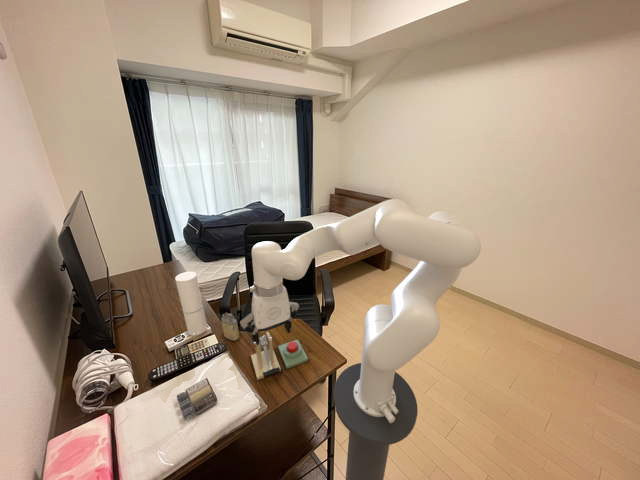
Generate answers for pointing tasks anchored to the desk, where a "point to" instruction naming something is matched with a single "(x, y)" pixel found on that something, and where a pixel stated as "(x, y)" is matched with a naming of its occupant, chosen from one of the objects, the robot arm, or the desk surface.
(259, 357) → the cream lever stand
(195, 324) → the cylindrical container
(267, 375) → the lever
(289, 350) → the button
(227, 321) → the yellow grey jar
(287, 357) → the control box
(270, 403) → the desk surface
